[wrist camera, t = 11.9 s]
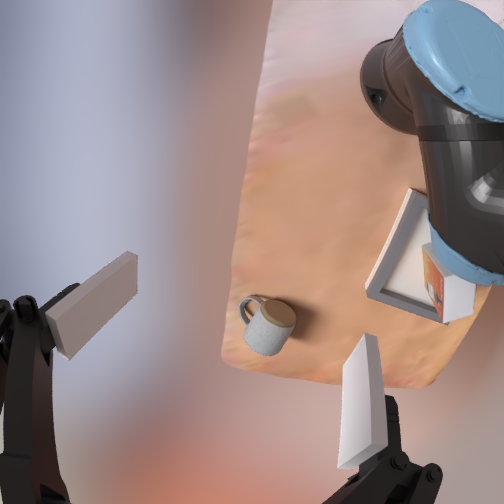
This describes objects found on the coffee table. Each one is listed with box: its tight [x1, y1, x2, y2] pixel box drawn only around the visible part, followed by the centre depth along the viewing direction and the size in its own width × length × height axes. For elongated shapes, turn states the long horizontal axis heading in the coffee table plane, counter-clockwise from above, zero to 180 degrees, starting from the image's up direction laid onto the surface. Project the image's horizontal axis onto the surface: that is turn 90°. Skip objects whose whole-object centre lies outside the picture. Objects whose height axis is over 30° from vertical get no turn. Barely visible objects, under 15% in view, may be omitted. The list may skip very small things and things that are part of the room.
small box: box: [421, 243, 476, 323], centre depth 33 cm, size 8×6×10 cm
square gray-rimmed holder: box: [365, 188, 450, 325], centre depth 38 cm, size 18×18×4 cm
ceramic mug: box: [238, 295, 296, 356], centre depth 49 cm, size 11×8×8 cm
